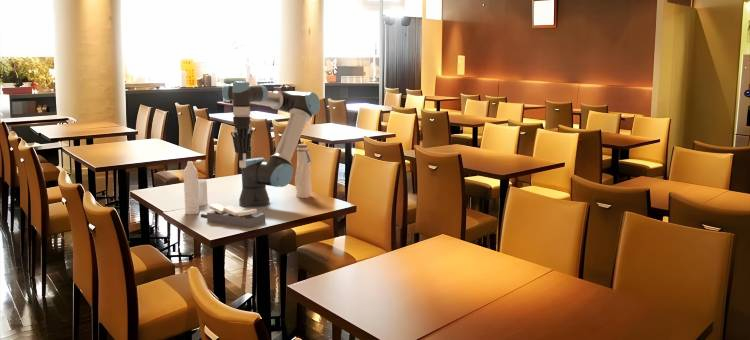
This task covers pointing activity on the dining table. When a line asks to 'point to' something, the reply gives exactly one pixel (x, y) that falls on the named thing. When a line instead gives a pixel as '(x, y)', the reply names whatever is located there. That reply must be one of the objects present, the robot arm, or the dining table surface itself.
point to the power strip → (236, 219)
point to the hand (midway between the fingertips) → (242, 167)
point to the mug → (202, 192)
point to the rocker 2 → (232, 210)
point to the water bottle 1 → (191, 188)
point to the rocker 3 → (247, 212)
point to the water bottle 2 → (303, 172)
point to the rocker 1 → (217, 208)
